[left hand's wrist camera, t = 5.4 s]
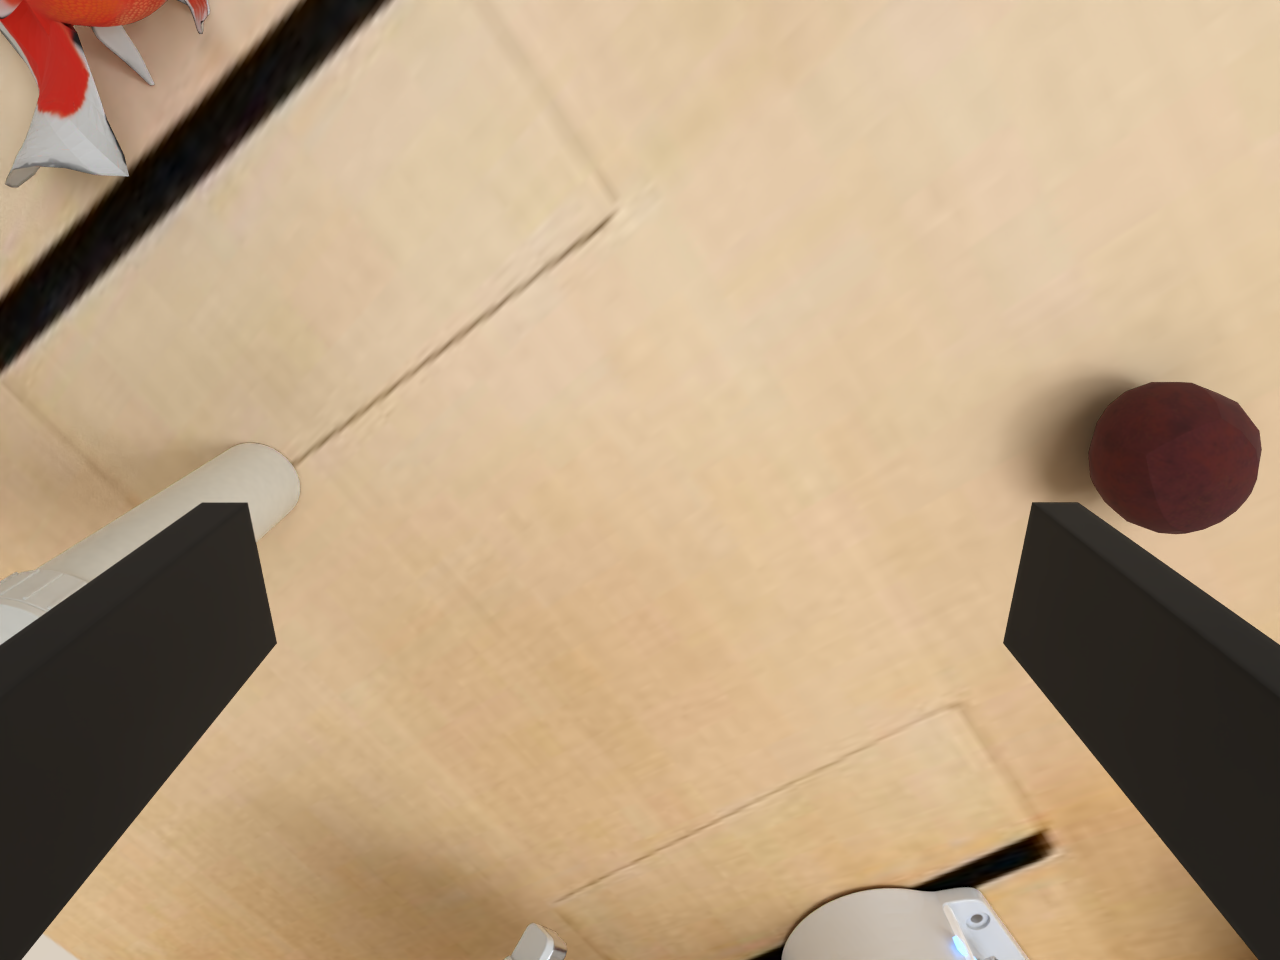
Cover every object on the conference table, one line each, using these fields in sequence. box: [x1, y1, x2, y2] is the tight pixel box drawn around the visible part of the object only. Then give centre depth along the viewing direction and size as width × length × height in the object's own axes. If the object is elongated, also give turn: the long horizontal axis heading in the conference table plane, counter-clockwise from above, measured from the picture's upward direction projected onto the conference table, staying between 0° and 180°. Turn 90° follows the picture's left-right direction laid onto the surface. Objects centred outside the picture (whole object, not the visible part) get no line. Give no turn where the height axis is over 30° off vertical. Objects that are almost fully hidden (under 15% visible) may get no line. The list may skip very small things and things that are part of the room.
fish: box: [0, 0, 210, 187], centre depth 31 cm, size 11×16×10 cm
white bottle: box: [35, 443, 300, 583], centre depth 34 cm, size 5×5×17 cm
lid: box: [0, 569, 88, 645], centre depth 27 cm, size 5×5×2 cm
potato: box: [1088, 382, 1262, 534], centre depth 38 cm, size 7×8×7 cm
